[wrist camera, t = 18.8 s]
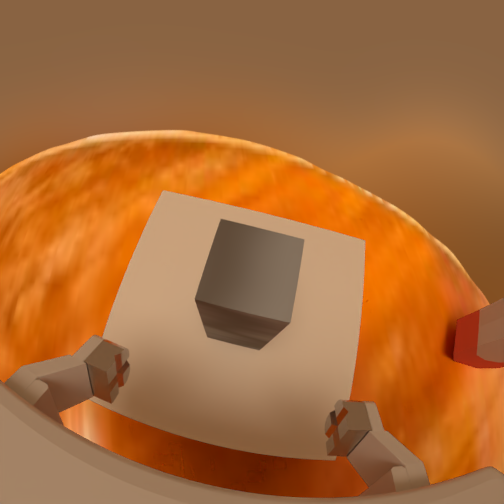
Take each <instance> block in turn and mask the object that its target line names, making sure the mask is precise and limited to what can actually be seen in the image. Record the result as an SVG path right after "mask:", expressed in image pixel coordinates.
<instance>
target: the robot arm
mask: <svg viewBox="0 0 504 504" xmlns="http://www.w3.org/2000/svg"><path fill="white" fill-rule="evenodd" d="M128 358H129V350H128V349H127V348H125V347H123V346H120V345H118V344H116V343H113V342H111V341H109V340H107V339H104V338H102V337H100V336H97V335H93V336H92V337H91V338H90V339H89V340H88V341H87V342H86V343H85V344H84V345H83V346H82V347H81V348H80V349H79V350H78V351H77V352H76V353H75V354H74V355H73V356H71V355H67V356H63V357H59V358H55V359H50V360H46V361H42V362H38V363H34V364H29V365H25V366H22V367H21V368H20V369H18V370H17V371H16V372H15V373H14V374H13V375H12V376H11V377H10V378H9V379H8V380H7V381H6V382H5V383H3V382H2V381H1V380H0V504H504V474H503V473H501V472H500V471H498V470H497V469H495V468H493V467H485V468H482V469H479V470H477V471H474V472H471V473H468V474H465V475H463V476H459V477H456V478H453V479H450V480H446V481H443V482H439V483H435V484H431V485H430V483H429V480H428V477H427V473H426V470H425V467H424V464H423V462H422V461H421V460H420V459H418V458H417V457H416V456H415V455H414V454H413V453H412V452H410V451H409V450H408V449H407V448H406V447H405V446H404V445H402V444H401V443H400V442H399V441H398V440H397V439H396V438H395V437H393V436H392V435H391V434H390V433H389V432H388V431H384V428H383V425H382V422H381V419H380V416H379V413H378V410H377V407H376V404H375V403H374V402H369V401H353V400H341V399H340V400H338V401H337V402H336V404H335V405H334V407H335V410H334V411H332V412H330V413H329V415H328V417H327V418H326V422H325V435H326V436H327V437H328V438H329V439H328V440H327V442H326V448H327V456H346V457H347V459H348V460H349V461H350V463H351V464H352V466H353V467H354V468H355V470H356V471H357V472H358V473H359V475H360V476H361V477H362V479H363V480H364V481H365V483H366V484H367V485H368V487H369V488H368V489H366V490H365V491H364V492H362V493H361V494H360V495H359V496H357V497H339V498H303V497H285V496H274V495H264V494H256V493H249V492H243V491H237V490H231V489H226V488H221V487H216V486H212V485H208V484H203V483H199V482H196V481H192V480H188V479H185V478H181V477H178V476H174V475H171V474H168V473H165V472H162V471H159V470H156V469H153V468H151V467H148V466H145V465H143V464H140V463H137V462H135V461H132V460H130V459H128V458H125V457H123V456H121V455H118V454H116V453H114V452H112V451H110V450H107V449H105V448H103V447H101V446H99V445H97V444H95V443H93V442H91V441H89V440H88V439H86V438H84V437H82V436H80V435H78V434H77V433H75V432H73V431H71V430H70V429H68V428H66V427H65V426H64V425H63V422H62V419H61V417H60V415H59V412H61V411H64V410H66V409H68V408H70V407H73V406H75V405H77V404H79V403H81V402H83V401H85V400H88V399H90V398H92V397H93V396H95V397H97V398H99V399H102V400H104V401H106V402H109V403H111V404H112V403H113V402H114V400H115V398H116V397H117V395H118V394H119V387H122V386H124V385H125V383H126V382H127V380H128V377H129V373H130V364H129V363H128V361H127V359H128Z"/></svg>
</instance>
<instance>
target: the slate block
mask: <svg viewBox="0 0 504 504" xmlns="http://www.w3.org/2000/svg"><path fill="white" fill-rule="evenodd" d="M304 240H305V239H301V238H297V237H293V236H289V235H285V234H281V233H277V232H273V231H269V230H265V229H261V228H257V227H253V226H249V225H245V224H241V223H237V222H233V221H229V220H224V219H220V222H219V225H218V228H217V231H216V234H215V237H214V240H213V243H212V246H211V249H210V252H209V255H208V258H207V261H206V264H205V267H204V271H203V274H202V277H201V280H200V283H199V286H198V290H197V293H196V296H195V302H196V305H197V308H198V311H199V314H200V317H201V320H202V323H203V326H204V329H205V332H206V335H207V337H208V338H211V339H215V340H219V341H223V342H227V343H231V344H235V345H239V346H243V347H247V348H251V349H256V350H260V349H262V348H263V347H264V346H265V345H266V344H267V343H269V342H270V341H271V340H272V339H273V338H274V337H275V336H276V335H278V334H279V333H280V332H281V331H282V330H283V329H284V328H285V327H286V326H288V325H289V324H290V323H291V317H292V312H293V306H294V301H295V295H296V290H297V284H298V278H299V272H300V266H301V259H302V253H303V246H304Z"/></svg>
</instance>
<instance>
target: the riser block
mask: <svg viewBox="0 0 504 504" xmlns="http://www.w3.org/2000/svg"><path fill="white" fill-rule="evenodd" d="M220 219H224V220H229V221H233V222H237V223H241V224H245V225H249V226H253V227H257V228H261V229H265V230H269V231H273V232H277V233H281V234H285V235H289V236H293V237H297V238H301V239H305V240H304V246H303V253H302V259H301V266H300V272H299V278H298V284H297V290H296V295H295V301H294V306H293V312H292V317H291V323H290V324H289V325H288V326H286V327H285V328H284V329H283V330H282V331H281V332H280V333H279V334H278V335H276V336H275V337H274V338H273V339H272V340H271V341H270V342H269V343H267V344H266V345H265V346H264V347H263V348H262V349H260V350H256V349H251V348H247V347H243V346H239V345H235V344H231V343H227V342H223V341H219V340H215V339H211V338H208V337H207V335H206V332H205V329H204V326H203V323H202V320H201V317H200V314H199V311H198V308H197V305H196V302H195V296H196V293H197V290H198V286H199V283H200V280H201V277H202V274H203V271H204V267H205V264H206V261H207V258H208V255H209V252H210V249H211V246H212V243H213V240H214V237H215V234H216V231H217V228H218V225H219V222H220ZM364 263H365V240H362V239H358V238H355V237H351V236H348V235H344V234H341V233H337V232H334V231H330V230H326V229H323V228H319V227H315V226H312V225H308V224H304V223H300V222H296V221H293V220H289V219H285V218H281V217H277V216H273V215H269V214H265V213H261V212H257V211H253V210H249V209H244V208H240V207H236V206H232V205H228V204H223V203H219V202H214V201H210V200H206V199H201V198H197V197H192V196H187V195H183V194H178V193H173V192H168V191H164V190H163V191H162V193H161V195H160V197H159V199H158V201H157V203H156V205H155V207H154V210H153V212H152V214H151V216H150V218H149V220H148V222H147V224H146V226H145V229H144V231H143V233H142V235H141V237H140V240H139V242H138V244H137V246H136V249H135V251H134V253H133V256H132V258H131V261H130V263H129V265H128V268H127V270H126V273H125V275H124V278H123V280H122V283H121V285H120V288H119V291H118V293H117V296H116V299H115V301H114V304H113V307H112V310H111V313H110V315H109V318H108V321H107V324H106V327H105V330H104V333H103V336H102V338H104V339H107V340H109V341H111V342H113V343H116V344H118V345H120V346H123V347H125V348H127V349H128V350H129V358H128V359H127V361H128V363H129V364H130V373H129V377H128V380H127V382H126V383H125V385H124V386H122V387H119V394H118V395H117V397H116V398H115V400H114V402H113V403H112V404H111V403H109V402H106V401H104V400H102V399H99V398H97V397H95V396H93V397H92V398H90V399H89V400H91V401H93V402H95V403H97V404H99V405H101V406H103V407H106V408H108V409H110V410H112V411H114V412H117V413H119V414H121V415H124V416H126V417H129V418H131V419H134V420H136V421H139V422H141V423H144V424H147V425H149V426H152V427H155V428H158V429H161V430H164V431H167V432H170V433H173V434H176V435H179V436H183V437H186V438H189V439H193V440H197V441H200V442H204V443H208V444H212V445H216V446H221V447H225V448H230V449H235V450H240V451H245V452H251V453H257V454H264V455H271V456H279V457H288V458H298V459H312V460H336V456H327V448H326V442H327V440H328V439H329V438H328V437H327V436H326V435H325V422H326V418H327V417H328V415H329V413H330V412H332V411H334V410H335V407H334V405H335V404H336V402H337V401H338V400H340V399H341V400H349V399H350V393H351V388H352V382H353V376H354V370H355V363H356V356H357V348H358V340H359V332H360V322H361V311H362V299H363V284H364Z"/></svg>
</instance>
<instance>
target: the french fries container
mask: <svg viewBox="0 0 504 504" xmlns="http://www.w3.org/2000/svg"><path fill="white" fill-rule="evenodd" d="M453 355H454V361H456V362H459V363H462V364H465V365H468V366H472V367H475V368H501V367H504V298H502V299H500V300H498V301H496V302H494V303H492V304H490V305H488V306H486V307H484V308H482V309H480V310H478V311H476V312H474V313H471V314H469V315H467V316H465V317H462V318H460V319H458V320H457V327H456V337H455V345H454V352H453Z"/></svg>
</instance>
